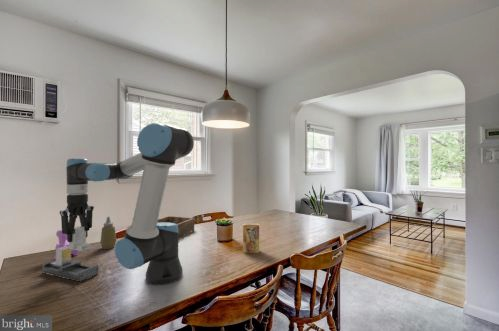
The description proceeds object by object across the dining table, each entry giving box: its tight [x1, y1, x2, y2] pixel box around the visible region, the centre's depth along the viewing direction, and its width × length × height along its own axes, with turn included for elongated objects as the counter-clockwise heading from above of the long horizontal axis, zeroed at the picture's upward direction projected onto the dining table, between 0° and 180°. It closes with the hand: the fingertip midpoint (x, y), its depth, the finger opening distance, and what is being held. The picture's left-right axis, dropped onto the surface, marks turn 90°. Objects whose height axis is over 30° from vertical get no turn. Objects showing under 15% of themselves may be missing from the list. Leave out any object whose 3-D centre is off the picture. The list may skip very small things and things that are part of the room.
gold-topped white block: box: [73, 225, 92, 252], centre depth 104 cm, size 8×4×9 cm, turn 70°
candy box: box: [242, 223, 260, 254], centre depth 133 cm, size 9×4×15 cm, turn 92°
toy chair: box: [53, 229, 79, 259], centre depth 125 cm, size 8×9×15 cm
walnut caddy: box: [157, 215, 195, 239], centre depth 164 cm, size 22×31×9 cm
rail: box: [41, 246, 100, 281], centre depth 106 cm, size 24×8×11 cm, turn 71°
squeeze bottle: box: [100, 216, 117, 250], centre depth 139 cm, size 8×8×18 cm
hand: (77, 247), depth 105 cm, fingers closed on gold-topped white block, 4 cm apart
